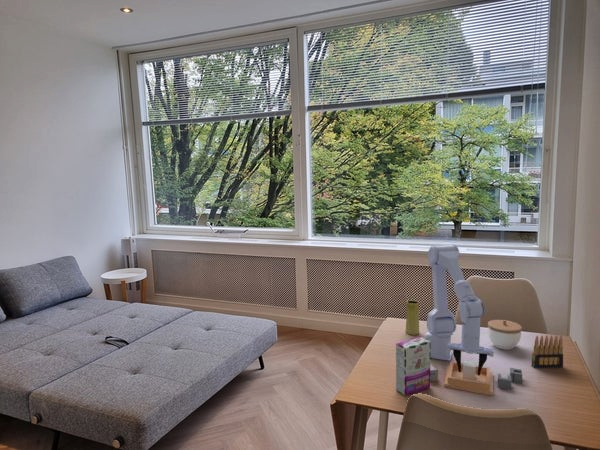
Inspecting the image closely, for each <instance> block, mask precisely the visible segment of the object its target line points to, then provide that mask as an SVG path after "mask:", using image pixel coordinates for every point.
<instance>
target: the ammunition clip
mask: <svg viewBox="0 0 600 450" xmlns="http://www.w3.org/2000/svg"><path fill="white" fill-rule="evenodd" d="M563 344H564V343H563V336H562V335H560V336H559V338H558V335H555V336H554V337H553V335H550V336H549V337H548V335H546V336H545V337H544V336H543V335H541V336H540V339H539V336H538V335H536V336H535V340H534V345H533V352H532V355H531V356H532V359H531V367H533V368H534V369H543V368H544V369H545V368H546V369H552V368H557V369H558V368H560V369H561V368H563V367H564V354H563V353H564V352H563V350H564V345H563Z"/></svg>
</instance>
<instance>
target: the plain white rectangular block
mask: <svg viewBox="0 0 600 450" xmlns="http://www.w3.org/2000/svg"><path fill="white" fill-rule="evenodd" d="M462 363H463V379H468V380H474V381H475V374H476V365H477V362H474V361H468V360H463V362H462Z"/></svg>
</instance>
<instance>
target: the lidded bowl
mask: <svg viewBox="0 0 600 450" xmlns="http://www.w3.org/2000/svg"><path fill="white" fill-rule="evenodd" d="M522 331H523V326H522V325H520V324H519V323H517V322H514V321H511V320H506V319H491V320H489V321H488V322H487V334H488V338H489V340H490V342H491V343H492V344H493V346H494V347H495V348H497V349H499V350H504V351H505V350H507V351H508V350H513V349H514V348H515V347H516V346H517V345H519V343H520V340H521V337H522Z"/></svg>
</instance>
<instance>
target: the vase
mask: <svg viewBox="0 0 600 450" xmlns="http://www.w3.org/2000/svg"><path fill="white" fill-rule="evenodd" d="M405 320H406V321H405V331H404V332H405V333H406V334H407V335H410V336H416V335H419V334H420V302H419V301H418V300H413V299H412V300H411V299H410V300H407V301H406V319H405Z"/></svg>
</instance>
